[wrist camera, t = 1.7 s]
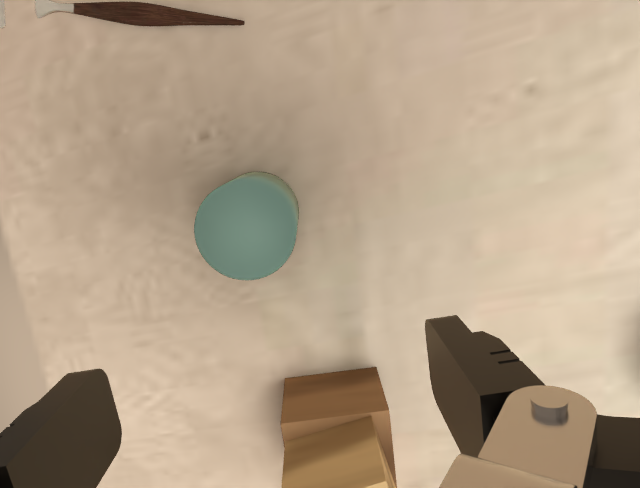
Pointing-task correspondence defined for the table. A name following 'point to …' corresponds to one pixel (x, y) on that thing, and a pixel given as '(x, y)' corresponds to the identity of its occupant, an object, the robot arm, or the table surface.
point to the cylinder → (248, 226)
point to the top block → (337, 458)
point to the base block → (336, 405)
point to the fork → (128, 13)
